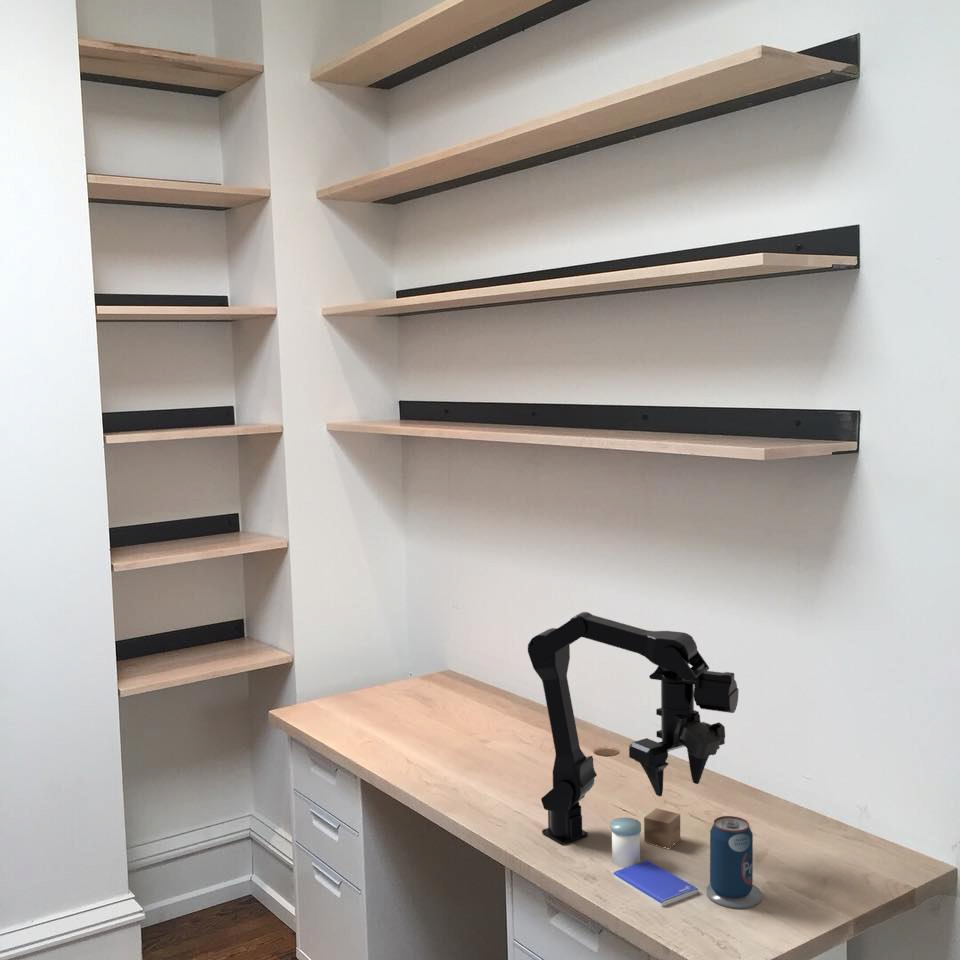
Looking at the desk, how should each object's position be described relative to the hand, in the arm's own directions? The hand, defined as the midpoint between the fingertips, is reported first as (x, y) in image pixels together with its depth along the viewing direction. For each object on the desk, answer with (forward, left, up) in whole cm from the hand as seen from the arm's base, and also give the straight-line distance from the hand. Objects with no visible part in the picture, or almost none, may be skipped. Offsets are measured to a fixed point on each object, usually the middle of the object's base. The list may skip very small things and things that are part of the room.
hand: (677, 789), depth 186 cm
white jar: (-5, -8, -13) cm, 16 cm away
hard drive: (+4, -10, -14) cm, 18 cm away
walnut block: (-7, +3, -13) cm, 15 cm away
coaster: (+15, -2, -13) cm, 20 cm away
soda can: (+15, -2, -13) cm, 20 cm away
